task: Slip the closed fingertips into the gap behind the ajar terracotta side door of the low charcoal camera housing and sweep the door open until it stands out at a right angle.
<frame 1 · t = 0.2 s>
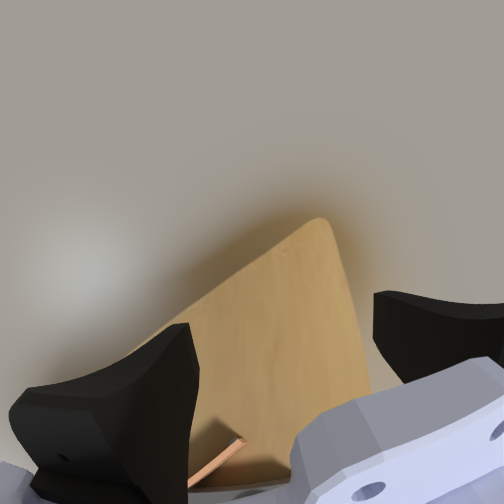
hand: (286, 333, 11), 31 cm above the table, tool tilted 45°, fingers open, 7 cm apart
side door: (212, 463, 31), point 2 cm above the table, hinge at 35.0°
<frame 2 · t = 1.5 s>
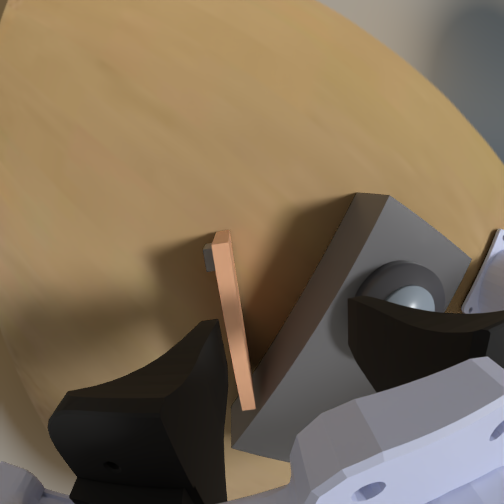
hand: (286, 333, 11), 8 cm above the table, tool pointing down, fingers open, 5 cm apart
side door: (230, 322, 17), point 2 cm above the table, hinge at 35.0°
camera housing: (335, 333, 21), on the table
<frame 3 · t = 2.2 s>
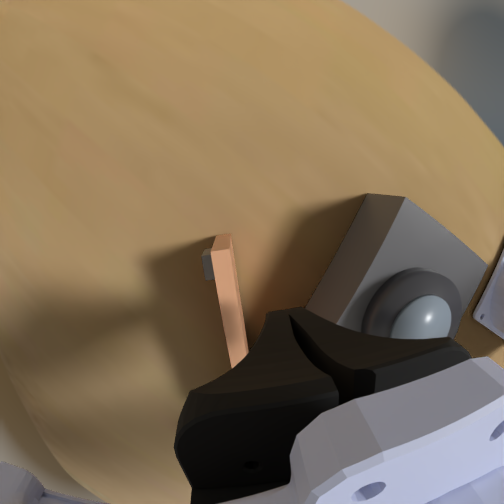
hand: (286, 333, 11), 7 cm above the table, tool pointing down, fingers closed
side door: (231, 334, 16), point 2 cm above the table, hinge at 35.0°
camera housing: (343, 343, 19), on the table
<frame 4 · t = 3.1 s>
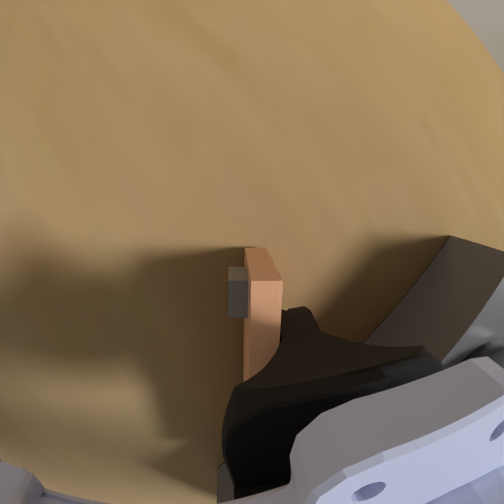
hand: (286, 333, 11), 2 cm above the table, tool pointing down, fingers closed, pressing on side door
side door: (248, 389, 11), point 2 cm above the table, hinge at 39.3°, touching gripper
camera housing: (373, 404, 14), on the table
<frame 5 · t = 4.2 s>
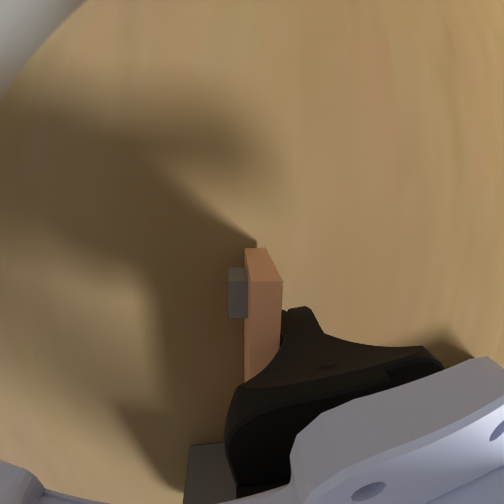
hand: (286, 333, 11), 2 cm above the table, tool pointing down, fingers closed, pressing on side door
side door: (249, 389, 11), point 2 cm above the table, hinge at 77.1°, touching gripper
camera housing: (351, 451, 15), on the table
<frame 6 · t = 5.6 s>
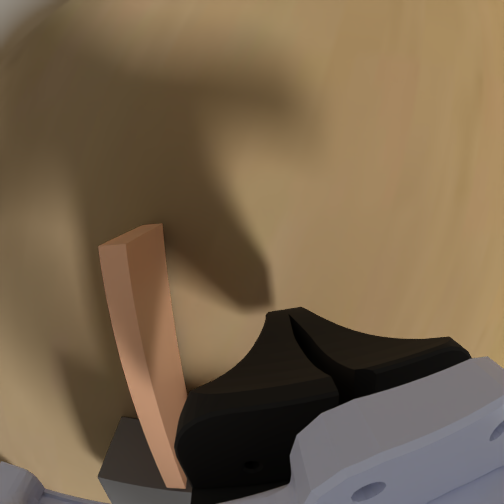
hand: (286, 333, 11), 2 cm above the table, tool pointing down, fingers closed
side door: (150, 368, 10), point 2 cm above the table, hinge at 95.3°
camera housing: (283, 465, 15), on the table
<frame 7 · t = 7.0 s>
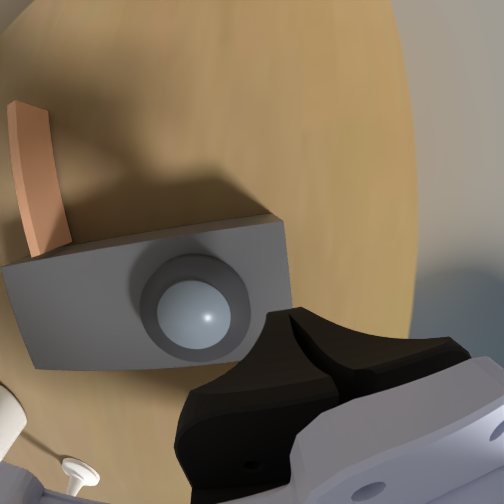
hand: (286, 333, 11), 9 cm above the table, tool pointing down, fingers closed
chess piece: (81, 469, 25), on the table
side door: (33, 177, 16), point 2 cm above the table, hinge at 95.3°
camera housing: (147, 287, 20), on the table
can: (7, 402, 22), on the table
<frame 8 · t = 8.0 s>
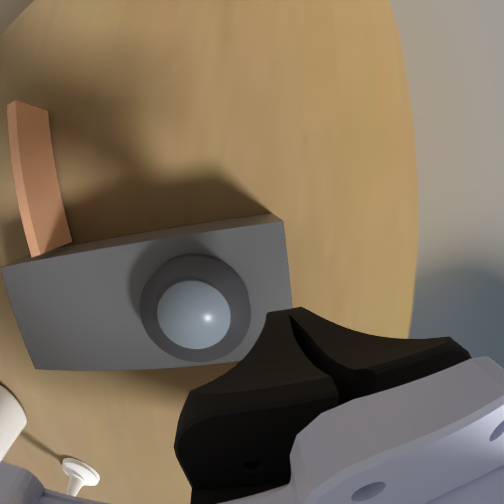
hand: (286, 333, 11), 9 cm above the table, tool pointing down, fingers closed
chess piece: (81, 469, 25), on the table
side door: (33, 177, 16), point 2 cm above the table, hinge at 95.3°
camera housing: (147, 287, 20), on the table
can: (7, 402, 22), on the table
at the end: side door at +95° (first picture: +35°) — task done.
